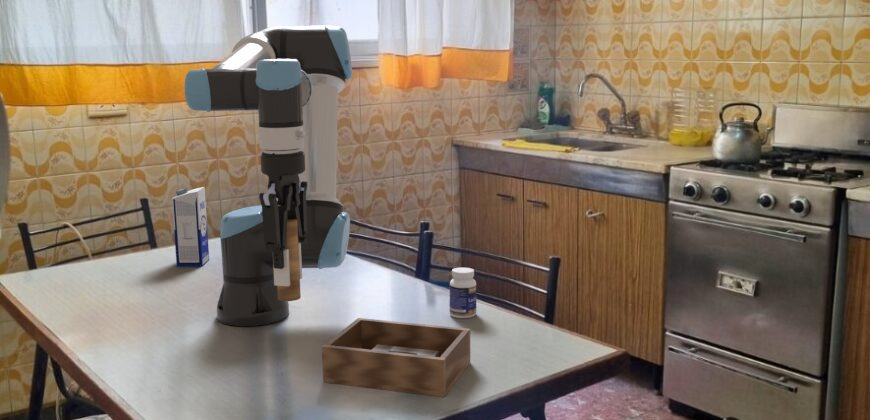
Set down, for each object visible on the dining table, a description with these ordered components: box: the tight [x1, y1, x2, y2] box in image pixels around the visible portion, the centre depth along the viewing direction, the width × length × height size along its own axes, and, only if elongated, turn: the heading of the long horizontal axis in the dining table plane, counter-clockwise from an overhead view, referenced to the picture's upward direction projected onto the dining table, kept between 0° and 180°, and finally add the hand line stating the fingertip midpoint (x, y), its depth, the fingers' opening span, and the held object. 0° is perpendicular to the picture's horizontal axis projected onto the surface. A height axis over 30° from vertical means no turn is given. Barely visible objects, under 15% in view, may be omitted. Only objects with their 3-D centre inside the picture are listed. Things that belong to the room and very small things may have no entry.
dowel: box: [277, 218, 302, 302], centre depth 156 cm, size 4×4×14 cm
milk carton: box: [171, 186, 210, 268], centre depth 231 cm, size 7×7×20 cm
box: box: [321, 317, 471, 398], centre depth 157 cm, size 22×16×6 cm
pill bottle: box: [449, 267, 477, 319], centre depth 188 cm, size 6×6×10 cm
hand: (288, 281), depth 157 cm, fingers closed on dowel, 4 cm apart
